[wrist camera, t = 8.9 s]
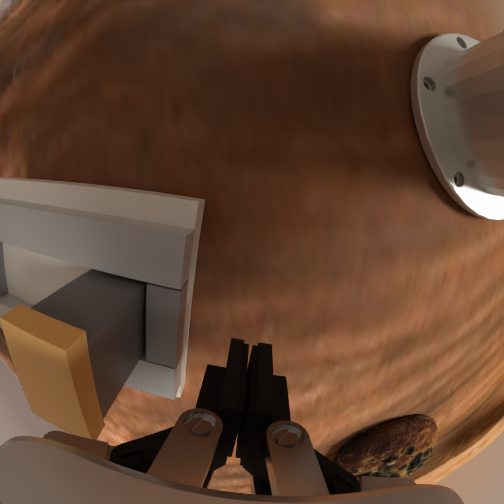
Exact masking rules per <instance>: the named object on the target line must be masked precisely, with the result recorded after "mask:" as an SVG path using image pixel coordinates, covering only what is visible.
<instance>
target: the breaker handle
mask: <svg viewBox="0 0 504 504" xmlns="http://www.w3.org/2000/svg"><path fill="white" fill-rule="evenodd" d="M147 284H148V282H144V281H140V280H135V279H131V278H127V277H123V276H119V275H115V274H111V273H107V272H103V271H99V270H95V269H91V270H89V271H87V272H86V273H84V274H82V275H81V276H79V277H78V278H76V279H74V280H73V281H71V282H70V283H68V284H66V285H65V286H63V287H62V288H60V289H58V290H57V291H55V292H54V293H52V294H51V295H49V296H48V297H46V298H45V299H43V300H41V301H40V302H38V303H37V304H35V305H34V306H32V307H31V308H28V307H26V306H24V305H22V304H19V305H18V306H16V307H15V308H13V309H12V310H10V311H9V312H7V313H6V314H4V315H3V316H1V317H0V320H1V324H2V328H3V332H4V336H5V339H6V343H7V346H8V349H9V353H10V356H11V359H12V362H13V365H14V367H15V370H16V373H17V376H18V378H19V381H20V384H21V386H22V389H23V391H24V393H25V396H26V398H27V400H28V403H29V405H30V407H31V409H32V411H33V413H34V414H36V415H38V416H39V417H41V418H43V419H45V420H46V421H48V422H50V423H51V424H53V425H55V426H57V427H59V428H60V429H62V430H64V431H66V432H68V433H70V434H72V435H76V436H80V437H84V438H89V439H93V440H97V438H98V436H99V434H100V433H101V431H102V429H103V427H104V426H105V424H104V420H103V419H104V417H105V416H106V414H107V412H108V410H109V409H110V407H111V405H112V404H113V402H114V400H115V399H116V397H117V395H118V394H119V392H120V391H121V389H122V387H123V386H124V384H125V382H126V381H127V379H128V377H129V376H130V374H131V373H132V371H133V369H134V368H135V366H136V365H137V363H138V361H139V360H140V358H141V357H142V355H143V353H144V352H145V350H146V294H147Z"/></svg>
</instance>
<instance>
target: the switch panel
mask: <svg viewBox="0 0 504 504" xmlns="http://www.w3.org/2000/svg"><path fill="white" fill-rule="evenodd" d="M204 204H205V199H200V198H193V197H187V196H180V195H173V194H167V193H160V192H152V191H145V190H137V189H130V188H122V187H113V186H105V185H96V184H87V183H77V182H66V181H55V180H44V179H30V178H16V177H0V317H1V316H3V315H4V314H6V313H7V312H9V311H10V310H12V309H13V308H15V307H16V306H18V305H19V304H22V305H24V306H26V307H28V308H31V307H32V306H34V305H35V304H37V303H38V302H40V301H41V300H43V299H45V298H46V297H48V296H49V295H51V294H52V293H54V292H55V291H57V290H58V289H60V288H62V287H63V286H65V285H66V284H68V283H70V282H71V281H73V280H74V279H76V278H78V277H79V276H81V275H82V274H84V273H86V272H87V271H89V270H91V269H95V270H99V271H103V272H107V273H111V274H115V275H119V276H123V277H127V278H131V279H135V280H140V281H144V282H148V284H147V294H146V350H145V352H144V353H143V355H142V357H141V358H140V360H139V361H138V363H137V365H136V366H135V368H134V369H133V371H132V373H131V374H130V376H129V377H128V379H127V381H126V382H125V384H124V385H125V386H128V387H131V388H134V389H137V390H141V391H144V392H147V393H151V394H154V395H158V396H161V397H165V398H169V399H173V400H175V397H179V398H180V396H181V393H182V391H183V388H184V385H185V378H186V363H187V349H188V337H189V326H190V315H191V305H192V296H193V287H194V278H195V269H196V261H197V253H198V246H199V238H200V231H201V224H202V217H203V211H204ZM0 328H1V329H3V328H2V324H1V320H0Z"/></svg>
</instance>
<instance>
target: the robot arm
mask: <svg viewBox="0 0 504 504" xmlns="http://www.w3.org/2000/svg"><path fill="white" fill-rule="evenodd" d="M410 88H411V101H412V109H413V114H414V119H415V124H416V128H417V131H418V134H419V137H420V141H421V144H422V147H423V149H424V152H425V154H426V156H427V158H428V161H429V163H430V165H431V168H432V169H433V171H434V173H435V174H436V176H437V178H438V180H439V181H440V183H441V185H442V186H443V187H444V189H445V190H446V191H447V192H448V194H449V195H450V196H451V198H452V199H453V200H454V201H455V202H457V203H458V204H459V205H460V206H461V207H462V208H463V209H464V210H466V211H468V212H469V213H471V214H473V215H475V216H478V217H481V218H484V219H487V220H496V221H500V220H504V31H503V32H501V33H498V34H496V35H494V36H492V37H490V38H488V39H486V40H484V41H482V42H479V41H477V40H476V39H473V38H471V37H469V36H466V35H463V34H457V33H446V34H441V35H439V36H437V37H435V38H433V39H432V40H430V41H429V42H428V43H427V44H425V45H424V46H423V47H422V49H421V50H420V52H419V53H418V55H417V56H416V59H415V62H414V65H413V68H412V75H411V86H410ZM248 351H249V344H244V340H241V339H235V338H231V344H230V349H229V354H228V360H227V365H226V368H225V367H219V366H214V365H209V364H208V365H207V368H206V372H205V375H204V379H203V383H202V386H201V390H200V393H199V397H198V401H197V404H196V408H194V409H189V410H187V411H185V412H183V413H182V414H181V415H180V417H179V418H178V420H177V422H176V424H175V425H174V427H171V428H168V429H166V430H163V431H160V432H157V433H154V434H151V435H148V436H145V437H142V438H139V439H136V440H132V441H129V442H126V443H122V444H120V445H118V446H111V445H109V444H108V442H103V441H98V440H93V439H89V438H84V437H80V436H76V435H72V434H69V433H65V432H61V431H51V432H48V433H47V434H45V435H44V437H43V438H39V437H33V436H17V437H14V438H11V439H9V440H8V441H6V442H5V443H4V444H2V445H1V446H0V504H464V503H463V501H462V500H461V498H460V497H459V495H458V494H457V493H456V492H455V491H454V490H452V489H450V488H448V487H444V486H440V485H430V484H416V483H415V482H414V481H413V480H411V479H408V478H389V477H369V476H362V477H361V478H356V477H355V476H354V475H353V474H352V473H350V472H348V471H347V470H345V469H343V468H342V467H340V466H339V465H337V464H336V463H334V462H332V461H331V460H329V459H328V458H326V457H325V456H323V455H322V454H320V453H319V452H317V451H316V450H315V449H313V446H312V443H311V440H310V438H309V435H308V433H307V431H306V429H304V428H303V427H302V426H301V425H299V424H298V423H295V422H292V421H291V419H290V409H289V399H288V390H287V380H286V377H285V376H277V375H273V359H272V345H271V344H265V343H258V346H256V345H253V346H252V351H251V355H250V360H249V364H248V368H247V363H248ZM237 434H238V437H237ZM236 438H237V447H236V458H241V461H240V465H242V466H243V468H244V469H246V470H247V471H248V472H249V473H250V474H249V480H250V487H251V493H252V494H243V493H234V492H226V491H219V490H213V489H208V487H209V485H210V482H211V479H212V477H213V474H214V470H216V469H218V468H220V467H222V466H224V465H225V463H226V460H227V456H229V457H231V456H232V453H233V449H234V445H235V441H236Z"/></svg>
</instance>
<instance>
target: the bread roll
mask: <svg viewBox="0 0 504 504" xmlns="http://www.w3.org/2000/svg"><path fill="white" fill-rule="evenodd" d="M437 431H438V429H437V426H436V420H434V419H432V418H431V417H429V416H423V415H417V416H409V417H402V419H400V418H399V419H394V420H391V421H389V422H385V423H382V424H380V425H378V426H376V427H374V428H372V429H369V430H367V431H366V432H364V433H360V434H358V435H357V436H356V437H353V438H352V439H351V440H349V442H348V443H346V444H345V445H344V446H343V447H342V448H341V450H340V451H341V452H340V453H338V455H337V456H336V458H335V462H334V463H336V464H337V465H339V466H340V467H342V468H343V469H345V470H347V471H348V472H350V473H352V474H353V475H354V476H355V477H356V478H361V477H362V476H369V477H389V478H405V477H406V476H407V475H410V474H411V473H412V471H413V470H414V469H418V468H420V467H421V466H422V465H423V462H424V460H427V459H428V458H429V457H428V455H429V454H430V453H431V452H432V450H433V445H434V444H435V443H436V441H437V438H438V432H437Z"/></svg>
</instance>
